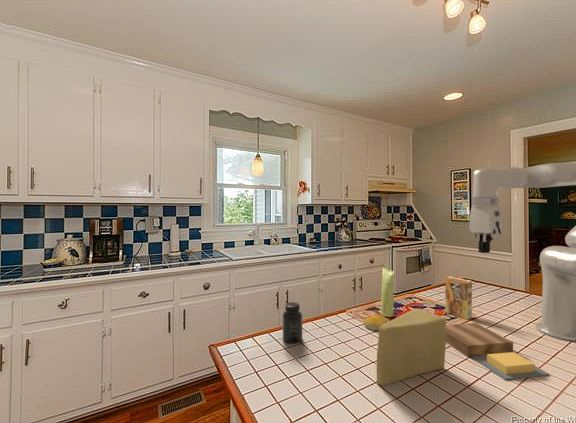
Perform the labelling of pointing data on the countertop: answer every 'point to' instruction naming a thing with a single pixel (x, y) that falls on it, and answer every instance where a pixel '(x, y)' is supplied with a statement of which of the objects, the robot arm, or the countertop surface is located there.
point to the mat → (484, 362)
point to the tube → (387, 293)
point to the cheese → (410, 346)
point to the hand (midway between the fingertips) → (484, 252)
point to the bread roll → (374, 322)
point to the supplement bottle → (292, 323)
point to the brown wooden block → (476, 340)
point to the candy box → (459, 297)
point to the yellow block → (510, 363)
